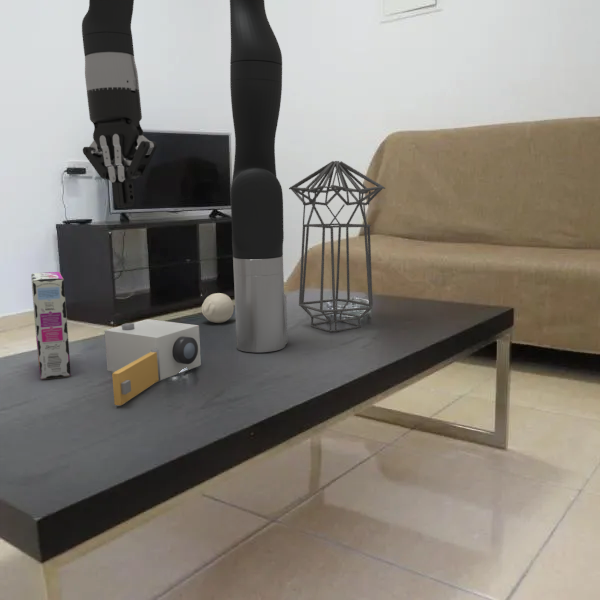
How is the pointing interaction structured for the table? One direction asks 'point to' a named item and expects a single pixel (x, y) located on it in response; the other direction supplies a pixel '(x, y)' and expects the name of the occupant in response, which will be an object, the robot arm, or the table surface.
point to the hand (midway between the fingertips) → (125, 207)
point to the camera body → (154, 345)
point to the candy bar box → (51, 325)
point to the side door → (136, 377)
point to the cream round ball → (217, 308)
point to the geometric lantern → (324, 172)
